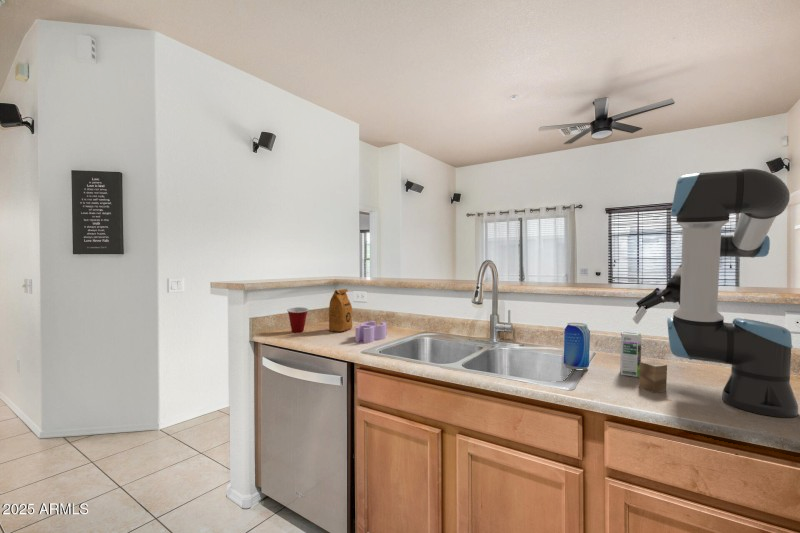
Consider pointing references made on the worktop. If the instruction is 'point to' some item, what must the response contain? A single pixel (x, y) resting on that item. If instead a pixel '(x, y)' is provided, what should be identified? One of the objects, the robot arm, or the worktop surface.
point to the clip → (371, 331)
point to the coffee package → (340, 312)
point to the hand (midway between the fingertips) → (652, 324)
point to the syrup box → (630, 354)
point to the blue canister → (576, 346)
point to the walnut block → (653, 376)
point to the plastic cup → (297, 318)
